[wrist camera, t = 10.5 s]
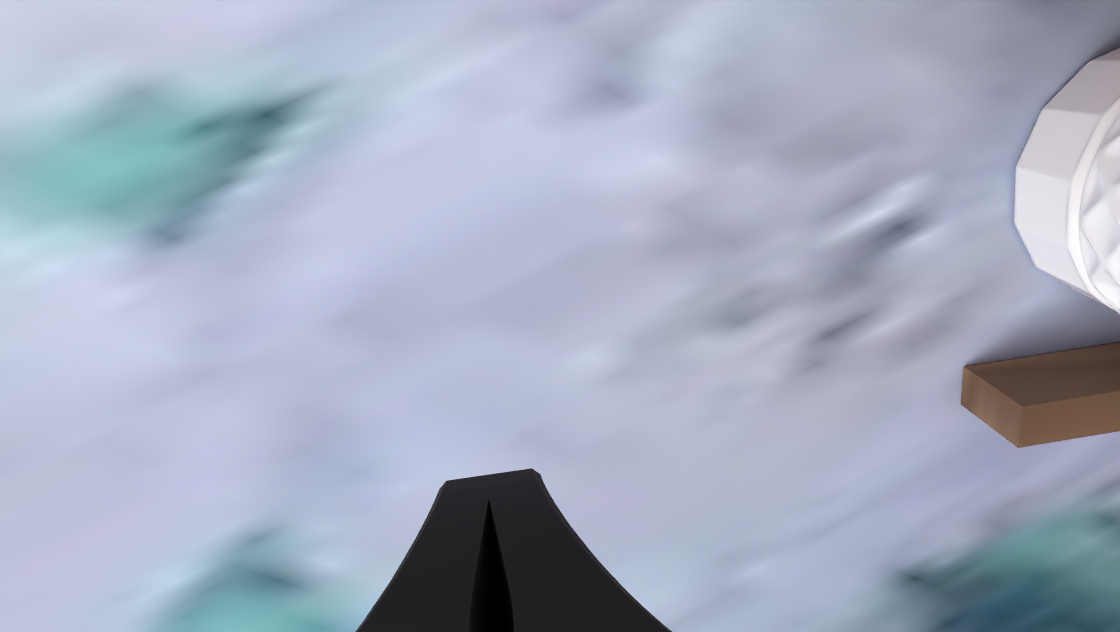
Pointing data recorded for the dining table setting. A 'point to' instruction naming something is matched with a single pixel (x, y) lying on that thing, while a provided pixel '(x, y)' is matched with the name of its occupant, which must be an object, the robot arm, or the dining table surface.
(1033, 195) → the white cup
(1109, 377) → the bar
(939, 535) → the dining table surface
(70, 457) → the dining table surface
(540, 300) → the dining table surface
